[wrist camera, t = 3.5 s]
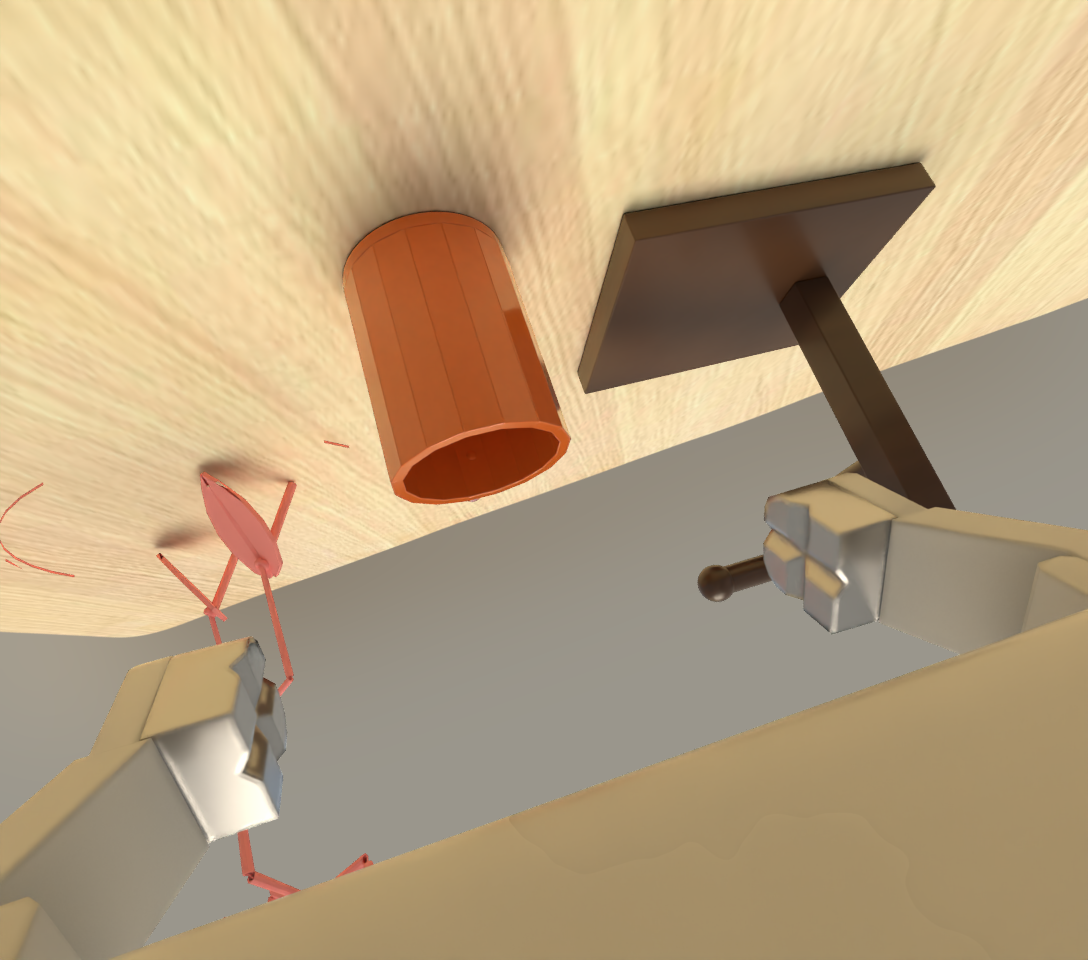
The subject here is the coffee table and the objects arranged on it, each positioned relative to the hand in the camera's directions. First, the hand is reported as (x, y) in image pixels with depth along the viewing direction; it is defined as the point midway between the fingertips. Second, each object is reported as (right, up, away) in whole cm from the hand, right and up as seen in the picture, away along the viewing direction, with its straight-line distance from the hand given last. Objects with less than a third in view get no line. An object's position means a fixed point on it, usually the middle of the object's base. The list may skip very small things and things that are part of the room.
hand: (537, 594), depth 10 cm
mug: (-5, +10, +18) cm, 21 cm away
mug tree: (+10, +12, +25) cm, 29 cm away
